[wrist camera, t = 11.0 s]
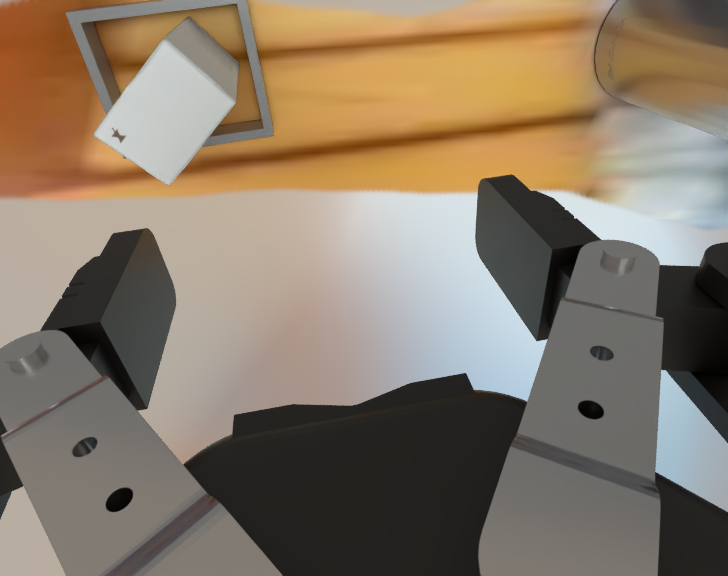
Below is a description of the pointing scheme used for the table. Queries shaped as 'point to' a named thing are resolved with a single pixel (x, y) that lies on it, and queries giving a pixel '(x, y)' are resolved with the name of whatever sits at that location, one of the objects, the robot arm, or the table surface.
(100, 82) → the frame
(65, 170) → the table surface
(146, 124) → the skincare box
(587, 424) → the robot arm
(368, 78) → the table surface
